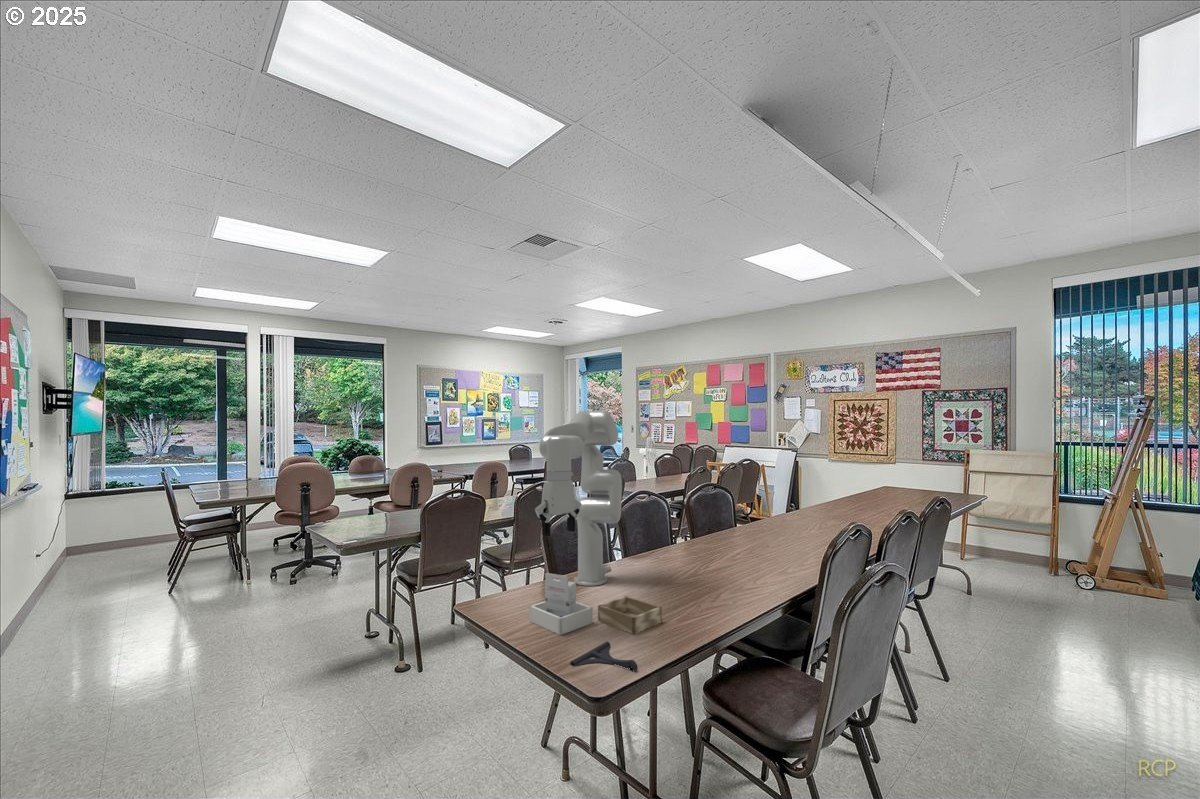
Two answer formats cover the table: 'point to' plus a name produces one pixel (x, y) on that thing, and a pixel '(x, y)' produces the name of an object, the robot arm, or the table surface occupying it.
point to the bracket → (602, 658)
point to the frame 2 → (616, 618)
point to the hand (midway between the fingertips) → (558, 533)
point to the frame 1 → (561, 618)
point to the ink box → (559, 595)
